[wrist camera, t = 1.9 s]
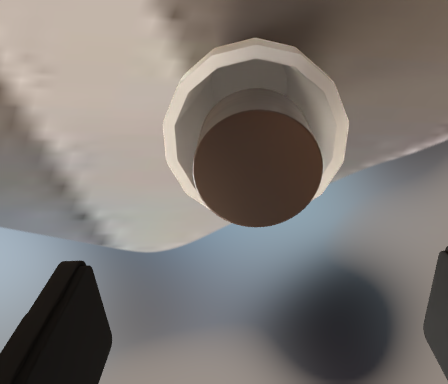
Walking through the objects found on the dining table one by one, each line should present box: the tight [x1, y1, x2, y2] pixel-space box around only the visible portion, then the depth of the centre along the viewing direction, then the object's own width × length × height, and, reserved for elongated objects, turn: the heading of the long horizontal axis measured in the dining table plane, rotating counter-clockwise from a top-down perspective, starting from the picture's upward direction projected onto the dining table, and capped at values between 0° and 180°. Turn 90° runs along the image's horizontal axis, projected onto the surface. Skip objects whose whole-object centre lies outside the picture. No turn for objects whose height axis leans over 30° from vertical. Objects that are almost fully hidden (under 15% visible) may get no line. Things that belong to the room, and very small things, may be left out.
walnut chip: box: [192, 88, 323, 227], centre depth 18 cm, size 6×6×4 cm
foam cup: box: [162, 38, 349, 209], centre depth 26 cm, size 10×9×13 cm
